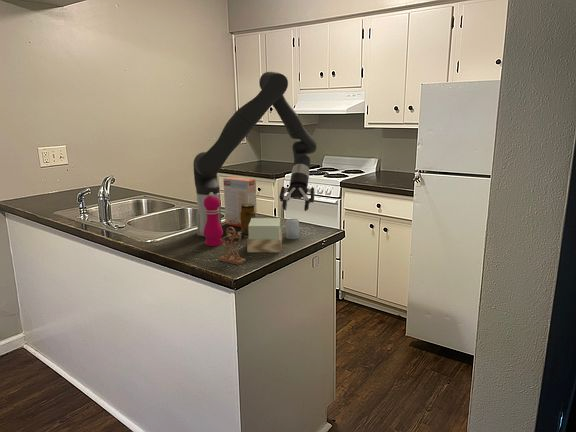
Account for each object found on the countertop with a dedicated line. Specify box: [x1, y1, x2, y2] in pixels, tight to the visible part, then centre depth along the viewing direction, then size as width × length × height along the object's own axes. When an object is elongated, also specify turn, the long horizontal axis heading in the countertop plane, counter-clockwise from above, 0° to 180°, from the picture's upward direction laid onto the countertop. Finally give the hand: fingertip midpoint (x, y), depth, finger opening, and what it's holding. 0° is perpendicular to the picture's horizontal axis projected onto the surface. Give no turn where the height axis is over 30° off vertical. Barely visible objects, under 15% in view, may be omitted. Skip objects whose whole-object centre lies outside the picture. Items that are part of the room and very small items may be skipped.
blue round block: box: [285, 218, 300, 240], centre depth 173 cm, size 5×5×7 cm
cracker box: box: [223, 176, 258, 228], centre depth 189 cm, size 14×6×21 cm, turn 53°
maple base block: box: [246, 230, 283, 253], centre depth 162 cm, size 12×12×5 cm
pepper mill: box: [203, 192, 224, 247], centre depth 164 cm, size 7×7×20 cm
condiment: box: [236, 204, 256, 238], centre depth 178 cm, size 7×8×12 cm
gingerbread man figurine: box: [218, 226, 247, 266], centre depth 147 cm, size 9×4×12 cm, turn 58°
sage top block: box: [248, 217, 281, 239], centre depth 161 cm, size 11×11×5 cm
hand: (295, 209), depth 177 cm, fingers open, 8 cm apart
